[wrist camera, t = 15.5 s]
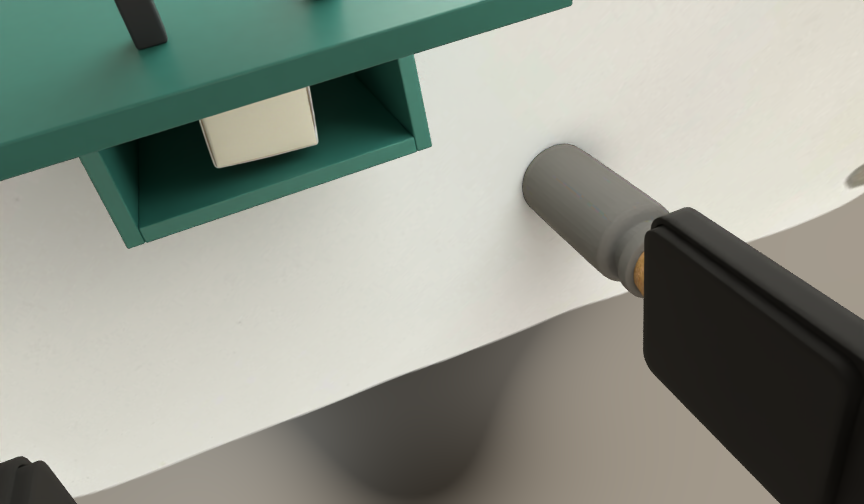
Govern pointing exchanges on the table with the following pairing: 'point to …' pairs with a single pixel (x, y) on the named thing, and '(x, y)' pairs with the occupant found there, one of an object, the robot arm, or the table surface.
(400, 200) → the table surface
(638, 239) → the bottle
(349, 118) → the lunchbox
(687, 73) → the table surface
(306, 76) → the lunchbox lid
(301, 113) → the box
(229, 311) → the table surface
